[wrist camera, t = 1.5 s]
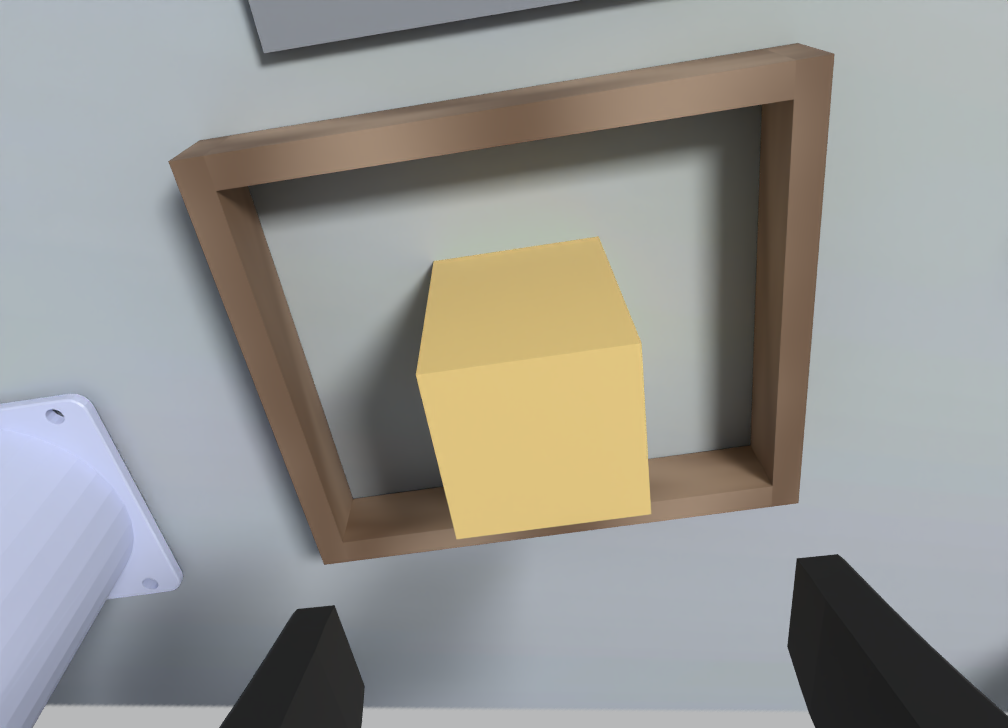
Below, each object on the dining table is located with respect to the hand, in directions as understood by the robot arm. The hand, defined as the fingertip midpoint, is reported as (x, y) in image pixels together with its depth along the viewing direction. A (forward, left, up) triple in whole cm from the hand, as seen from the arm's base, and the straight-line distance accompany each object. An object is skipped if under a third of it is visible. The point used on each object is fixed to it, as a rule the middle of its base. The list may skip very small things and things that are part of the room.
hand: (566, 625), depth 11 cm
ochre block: (0, 0, -11) cm, 11 cm away
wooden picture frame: (0, 0, -11) cm, 11 cm away
